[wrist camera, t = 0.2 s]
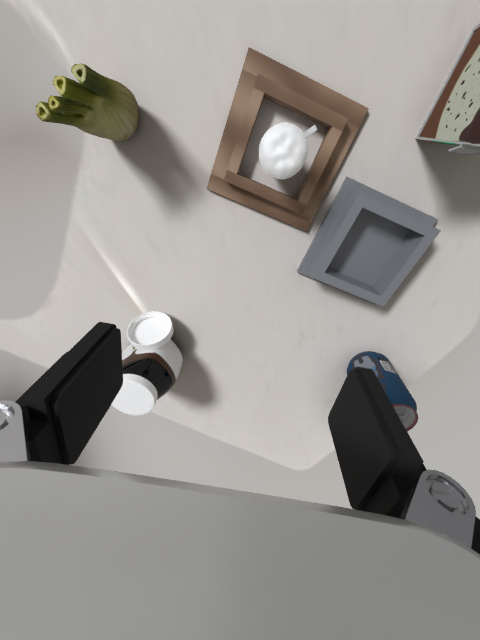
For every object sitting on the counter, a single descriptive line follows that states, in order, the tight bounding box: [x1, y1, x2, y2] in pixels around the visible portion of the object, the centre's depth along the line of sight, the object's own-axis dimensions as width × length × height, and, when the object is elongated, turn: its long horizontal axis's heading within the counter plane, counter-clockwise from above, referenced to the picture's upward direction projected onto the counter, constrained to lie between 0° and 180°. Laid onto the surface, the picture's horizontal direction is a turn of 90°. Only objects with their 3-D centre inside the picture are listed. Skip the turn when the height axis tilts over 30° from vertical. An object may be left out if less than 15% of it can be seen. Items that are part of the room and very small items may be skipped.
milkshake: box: [259, 123, 317, 179], centre depth 29 cm, size 5×5×10 cm
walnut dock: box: [207, 48, 369, 232], centre depth 32 cm, size 14×14×2 cm
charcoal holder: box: [297, 177, 441, 307], centre depth 36 cm, size 13×13×4 cm
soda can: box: [347, 351, 418, 431], centre depth 42 cm, size 7×7×12 cm
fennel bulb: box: [36, 64, 139, 142], centre depth 27 cm, size 6×5×12 cm
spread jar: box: [112, 311, 183, 415], centre depth 43 cm, size 12×11×12 cm
